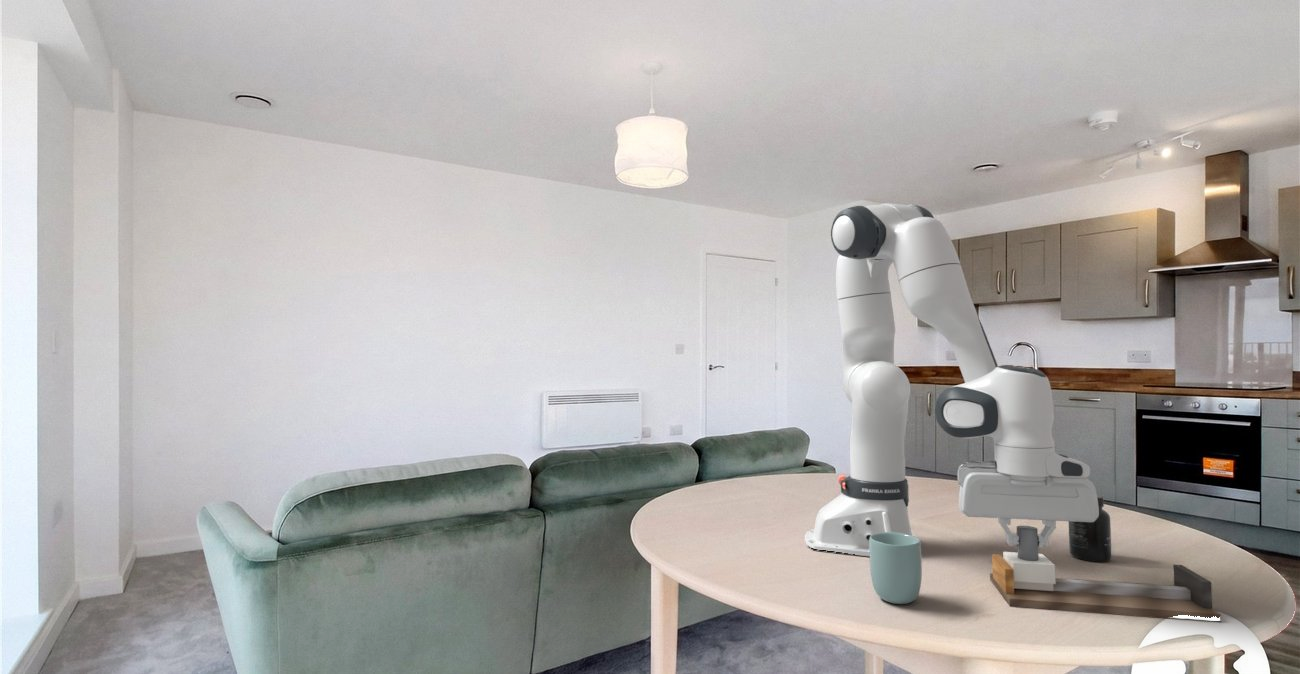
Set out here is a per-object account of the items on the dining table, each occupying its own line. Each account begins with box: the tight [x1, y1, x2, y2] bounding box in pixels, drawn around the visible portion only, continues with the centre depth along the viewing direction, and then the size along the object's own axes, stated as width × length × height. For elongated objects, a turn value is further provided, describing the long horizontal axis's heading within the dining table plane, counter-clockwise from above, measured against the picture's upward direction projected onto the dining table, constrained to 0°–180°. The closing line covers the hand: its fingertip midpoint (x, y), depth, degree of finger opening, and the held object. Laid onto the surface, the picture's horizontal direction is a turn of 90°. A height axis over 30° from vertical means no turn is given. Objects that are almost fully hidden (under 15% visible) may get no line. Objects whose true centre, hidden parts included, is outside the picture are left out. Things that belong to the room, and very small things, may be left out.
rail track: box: [989, 553, 1222, 619], centre depth 103 cm, size 28×12×5 cm, turn 75°
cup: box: [869, 532, 923, 605], centre depth 104 cm, size 8×8×10 cm
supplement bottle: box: [1067, 494, 1113, 563], centre depth 124 cm, size 7×7×12 cm
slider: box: [1002, 525, 1056, 591], centre depth 105 cm, size 6×6×10 cm
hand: (1027, 545), depth 105 cm, fingers closed on slider, 3 cm apart
